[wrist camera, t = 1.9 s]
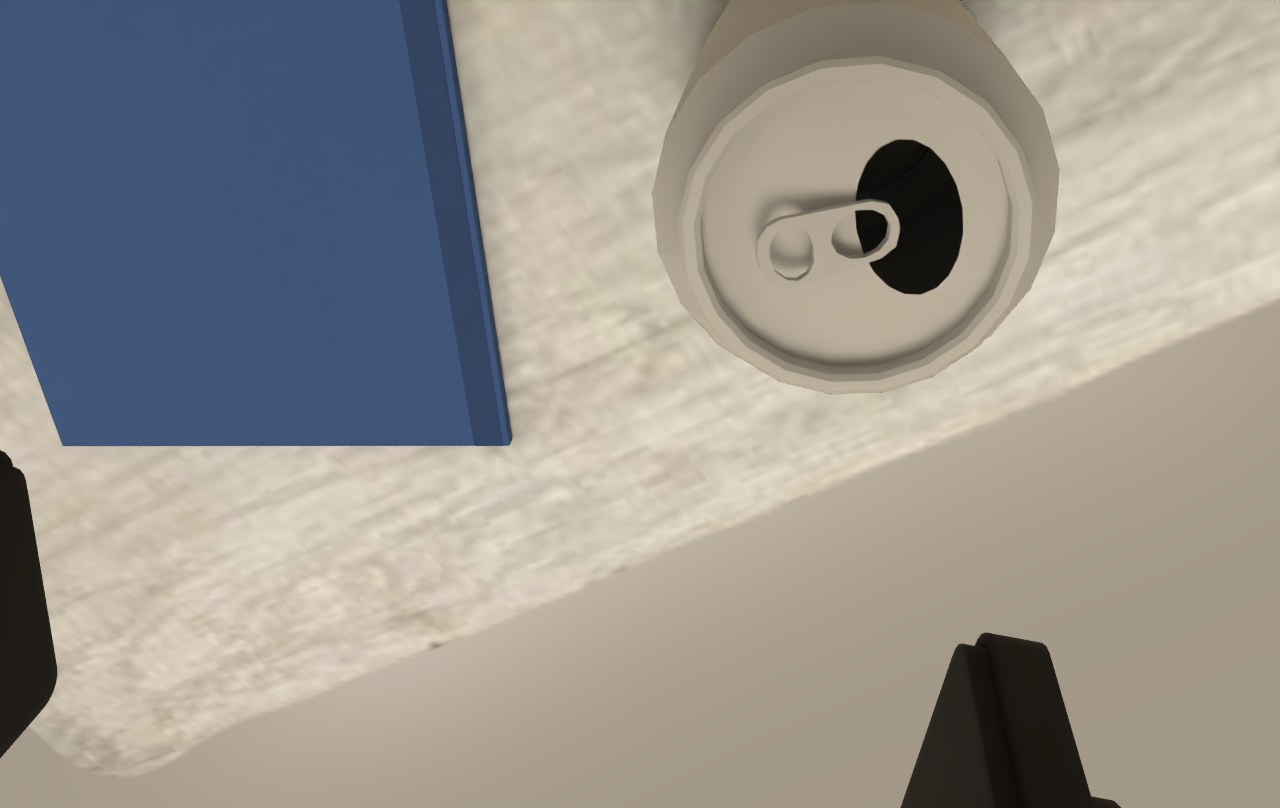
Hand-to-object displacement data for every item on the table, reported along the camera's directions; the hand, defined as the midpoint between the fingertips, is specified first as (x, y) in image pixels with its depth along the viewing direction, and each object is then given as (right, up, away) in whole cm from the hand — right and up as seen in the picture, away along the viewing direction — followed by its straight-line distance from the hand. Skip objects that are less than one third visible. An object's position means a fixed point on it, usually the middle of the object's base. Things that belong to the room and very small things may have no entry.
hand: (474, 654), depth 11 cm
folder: (-11, +10, +22) cm, 27 cm away
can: (+7, +11, +19) cm, 23 cm away
